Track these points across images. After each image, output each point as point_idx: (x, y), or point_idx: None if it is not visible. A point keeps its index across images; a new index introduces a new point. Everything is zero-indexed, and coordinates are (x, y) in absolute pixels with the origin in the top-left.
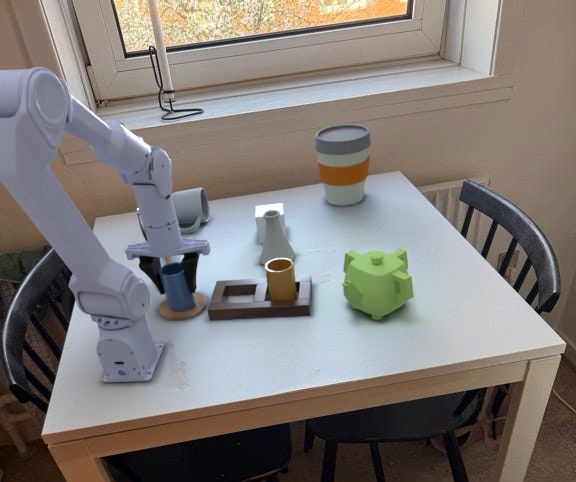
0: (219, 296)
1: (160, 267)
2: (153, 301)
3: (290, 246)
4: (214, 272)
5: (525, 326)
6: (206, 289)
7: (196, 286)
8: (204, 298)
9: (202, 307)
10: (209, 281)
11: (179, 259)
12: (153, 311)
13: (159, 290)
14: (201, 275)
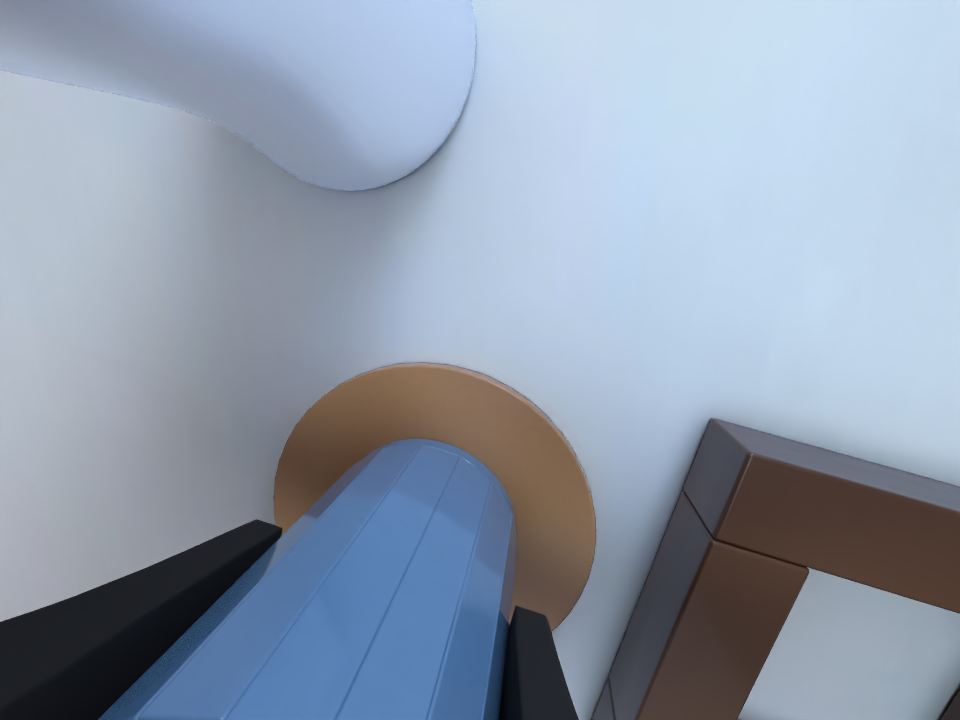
0: (720, 703)
1: (53, 703)
2: (234, 374)
3: None
4: (732, 68)
5: None
6: (614, 354)
7: (549, 625)
8: (585, 511)
9: (558, 610)
10: (657, 231)
11: (374, 3)
12: (248, 493)
13: None
14: (600, 89)
